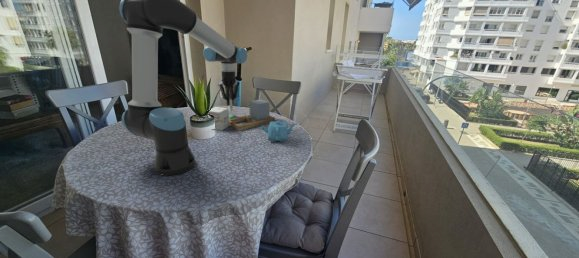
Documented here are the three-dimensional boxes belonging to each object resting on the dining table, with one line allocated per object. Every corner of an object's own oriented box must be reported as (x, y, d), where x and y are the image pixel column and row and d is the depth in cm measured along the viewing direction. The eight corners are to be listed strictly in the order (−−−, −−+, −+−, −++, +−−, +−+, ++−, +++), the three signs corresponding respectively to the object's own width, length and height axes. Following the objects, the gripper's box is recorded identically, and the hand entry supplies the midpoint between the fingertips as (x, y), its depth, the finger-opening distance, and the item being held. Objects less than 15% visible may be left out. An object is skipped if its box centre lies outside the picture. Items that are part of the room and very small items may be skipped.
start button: (236, 120, 148) (235, 115, 147) (230, 121, 146) (229, 117, 145) (232, 118, 151) (232, 114, 150) (227, 119, 148) (226, 115, 147)
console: (239, 121, 148) (239, 117, 147) (229, 124, 144) (229, 119, 143) (233, 118, 153) (233, 114, 152) (223, 121, 149) (223, 116, 148)
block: (269, 120, 148) (269, 102, 144) (257, 124, 143) (256, 104, 138) (261, 117, 154) (261, 99, 150) (249, 120, 148) (249, 101, 144)
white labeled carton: (208, 130, 134) (206, 110, 130) (217, 125, 142) (215, 106, 138) (221, 132, 132) (220, 112, 128) (229, 127, 140) (228, 107, 135)
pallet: (274, 123, 148) (274, 117, 147) (239, 132, 132) (239, 126, 131) (261, 117, 158) (261, 112, 156) (227, 125, 142) (226, 119, 141)
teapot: (259, 144, 119) (259, 125, 116) (262, 133, 132) (262, 116, 129) (295, 145, 119) (296, 126, 115) (295, 134, 132) (296, 117, 129)
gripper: (235, 69, 144) (236, 107, 152) (214, 70, 136) (217, 110, 144) (241, 70, 139) (243, 110, 147) (220, 72, 130) (223, 113, 139)
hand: (230, 110), depth 145 cm, fingers closed
